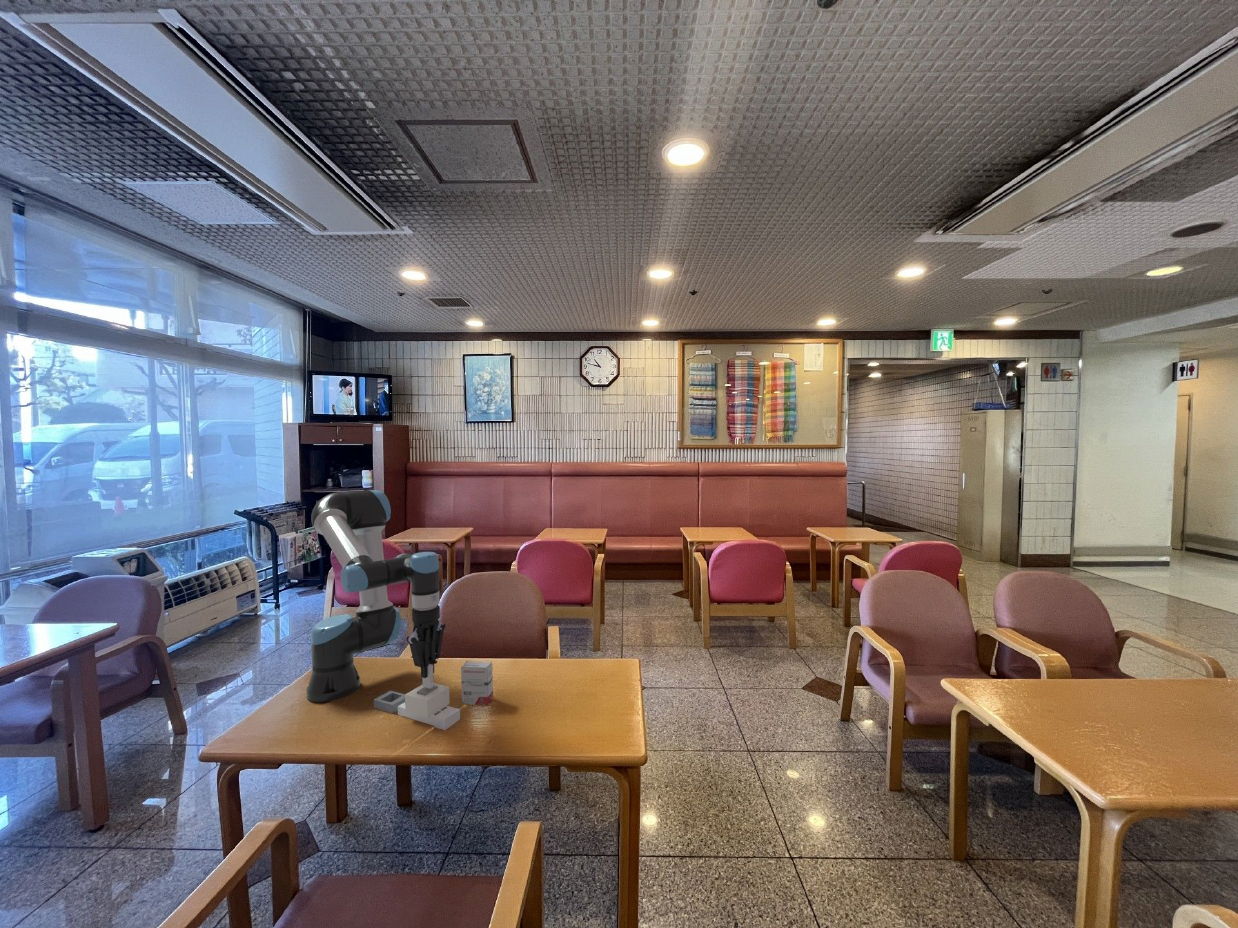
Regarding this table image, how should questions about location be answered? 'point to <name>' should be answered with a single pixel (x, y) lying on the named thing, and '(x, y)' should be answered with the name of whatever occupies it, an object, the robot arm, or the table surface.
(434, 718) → the socket
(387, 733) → the table surface
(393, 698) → the plug rest
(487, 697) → the ink box
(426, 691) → the plug
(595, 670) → the table surface
